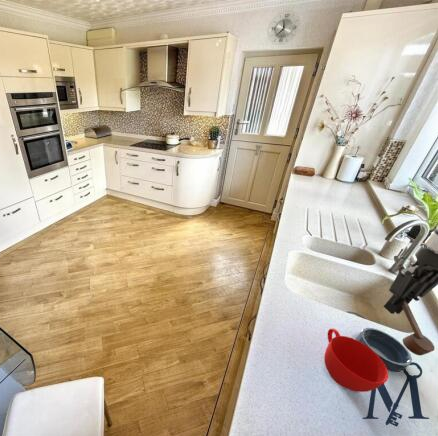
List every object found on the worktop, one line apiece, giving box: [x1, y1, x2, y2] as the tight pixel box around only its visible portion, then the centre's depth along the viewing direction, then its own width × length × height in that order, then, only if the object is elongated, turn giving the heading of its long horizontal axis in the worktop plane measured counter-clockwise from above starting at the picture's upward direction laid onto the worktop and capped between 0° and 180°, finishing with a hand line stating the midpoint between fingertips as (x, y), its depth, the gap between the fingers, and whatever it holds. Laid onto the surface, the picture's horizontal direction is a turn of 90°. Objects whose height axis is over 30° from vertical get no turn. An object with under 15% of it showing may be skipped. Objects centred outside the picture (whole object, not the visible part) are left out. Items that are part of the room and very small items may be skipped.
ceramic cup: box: [323, 328, 389, 393], centre depth 69 cm, size 13×17×10 cm
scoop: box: [401, 300, 436, 357], centre depth 68 cm, size 16×5×8 cm, turn 1°
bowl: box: [355, 327, 413, 373], centre depth 75 cm, size 12×12×4 cm
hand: (391, 310), depth 73 cm, fingers closed on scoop
